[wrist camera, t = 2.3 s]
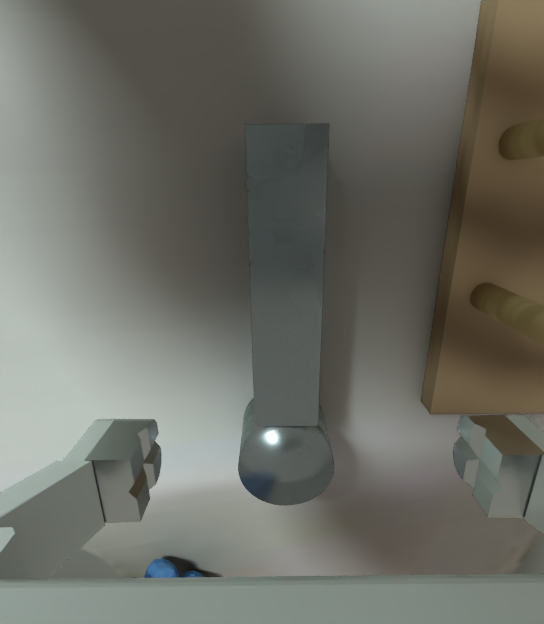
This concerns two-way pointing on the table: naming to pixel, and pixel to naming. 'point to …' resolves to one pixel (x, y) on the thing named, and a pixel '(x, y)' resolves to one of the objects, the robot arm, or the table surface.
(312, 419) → the grey bar
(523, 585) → the robot arm
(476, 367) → the peg board
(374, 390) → the table surface
